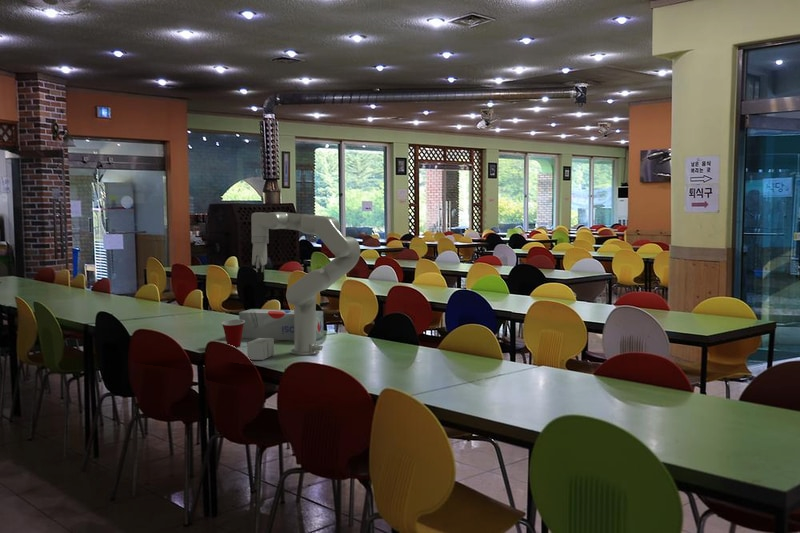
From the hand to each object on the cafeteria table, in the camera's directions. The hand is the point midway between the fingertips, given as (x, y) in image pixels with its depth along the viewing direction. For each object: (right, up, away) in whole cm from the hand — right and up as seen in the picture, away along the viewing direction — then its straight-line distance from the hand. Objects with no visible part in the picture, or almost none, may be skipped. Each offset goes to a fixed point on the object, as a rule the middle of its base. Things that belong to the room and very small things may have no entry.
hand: (260, 280), depth 342 cm
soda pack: (+4, -30, +35) cm, 46 cm away
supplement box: (+4, -29, -9) cm, 30 cm away
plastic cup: (-15, -31, +12) cm, 36 cm away
